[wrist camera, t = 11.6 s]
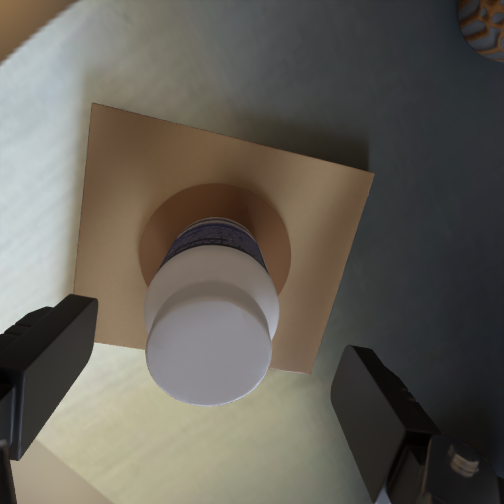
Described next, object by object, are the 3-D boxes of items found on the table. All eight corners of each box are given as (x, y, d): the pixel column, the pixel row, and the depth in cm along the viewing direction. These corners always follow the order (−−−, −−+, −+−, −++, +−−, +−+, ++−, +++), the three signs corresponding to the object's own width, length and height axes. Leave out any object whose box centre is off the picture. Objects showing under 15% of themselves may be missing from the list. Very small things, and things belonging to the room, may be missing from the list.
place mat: (369, 172, 20) (377, 173, 19) (307, 368, 23) (311, 377, 22) (97, 104, 18) (89, 101, 17) (73, 332, 21) (66, 341, 20)
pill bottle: (154, 235, 19) (87, 311, 9) (242, 202, 19) (262, 247, 9) (191, 314, 20) (164, 447, 11) (272, 284, 20) (315, 392, 11)
